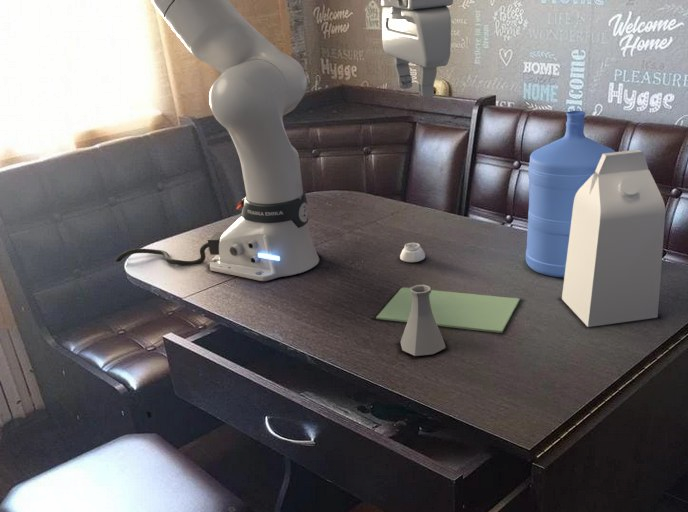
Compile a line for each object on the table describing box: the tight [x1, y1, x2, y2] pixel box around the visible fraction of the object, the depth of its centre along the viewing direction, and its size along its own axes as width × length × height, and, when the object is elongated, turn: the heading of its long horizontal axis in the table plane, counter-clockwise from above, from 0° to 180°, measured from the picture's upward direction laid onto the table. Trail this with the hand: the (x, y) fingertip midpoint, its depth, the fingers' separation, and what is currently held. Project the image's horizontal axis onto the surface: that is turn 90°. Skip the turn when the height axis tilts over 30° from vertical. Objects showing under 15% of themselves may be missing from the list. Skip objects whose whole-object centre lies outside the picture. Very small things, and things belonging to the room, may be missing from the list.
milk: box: [561, 149, 666, 328], centre depth 124 cm, size 12×12×26 cm
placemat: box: [375, 286, 521, 334], centre depth 134 cm, size 22×13×1 cm, turn 69°
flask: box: [399, 284, 447, 357], centre depth 120 cm, size 7×7×10 cm
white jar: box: [399, 242, 426, 263], centre depth 154 cm, size 5×3×5 cm
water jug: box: [525, 110, 616, 279], centre depth 141 cm, size 16×16×28 cm
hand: (415, 92), depth 117 cm, fingers open, 8 cm apart
